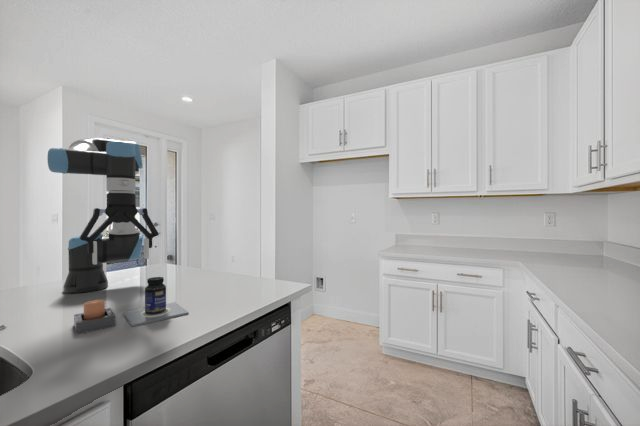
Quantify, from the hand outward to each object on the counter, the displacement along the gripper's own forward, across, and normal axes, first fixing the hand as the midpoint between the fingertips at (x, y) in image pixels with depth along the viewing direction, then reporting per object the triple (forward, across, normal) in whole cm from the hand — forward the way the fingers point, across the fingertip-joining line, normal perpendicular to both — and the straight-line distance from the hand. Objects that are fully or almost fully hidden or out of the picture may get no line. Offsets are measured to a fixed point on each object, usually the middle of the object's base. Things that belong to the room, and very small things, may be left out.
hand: (121, 261), depth 93 cm
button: (+17, -7, +1) cm, 18 cm away
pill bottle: (+18, +9, -2) cm, 20 cm away
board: (+18, +9, -2) cm, 21 cm away
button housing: (+18, -7, +1) cm, 20 cm away
